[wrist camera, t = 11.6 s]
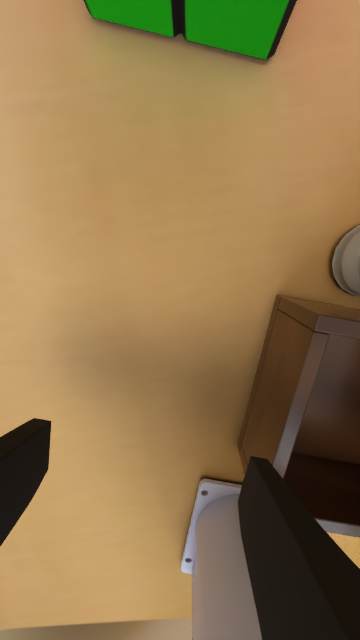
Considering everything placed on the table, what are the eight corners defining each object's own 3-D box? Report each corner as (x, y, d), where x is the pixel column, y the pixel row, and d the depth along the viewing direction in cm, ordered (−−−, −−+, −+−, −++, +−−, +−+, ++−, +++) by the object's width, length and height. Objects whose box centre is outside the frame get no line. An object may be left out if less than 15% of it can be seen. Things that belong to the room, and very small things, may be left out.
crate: (362, 467, 20) (429, 550, 14) (237, 445, 20) (255, 520, 14) (422, 320, 17) (534, 352, 12) (276, 294, 17) (318, 314, 12)
